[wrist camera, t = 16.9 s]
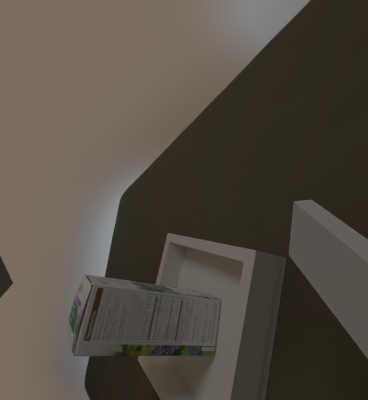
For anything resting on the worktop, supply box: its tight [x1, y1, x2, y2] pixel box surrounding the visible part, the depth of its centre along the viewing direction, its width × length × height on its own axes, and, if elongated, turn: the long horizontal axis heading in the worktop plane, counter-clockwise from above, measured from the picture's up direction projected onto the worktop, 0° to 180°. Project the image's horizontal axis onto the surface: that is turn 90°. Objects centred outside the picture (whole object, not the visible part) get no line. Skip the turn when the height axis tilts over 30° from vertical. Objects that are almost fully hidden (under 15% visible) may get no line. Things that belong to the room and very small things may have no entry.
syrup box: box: [67, 275, 221, 356], centre depth 25 cm, size 6×6×14 cm
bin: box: [138, 233, 287, 400], centre depth 28 cm, size 18×18×4 cm
